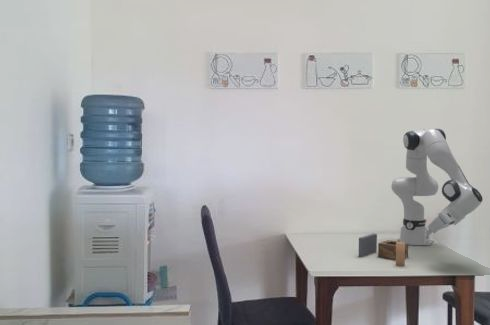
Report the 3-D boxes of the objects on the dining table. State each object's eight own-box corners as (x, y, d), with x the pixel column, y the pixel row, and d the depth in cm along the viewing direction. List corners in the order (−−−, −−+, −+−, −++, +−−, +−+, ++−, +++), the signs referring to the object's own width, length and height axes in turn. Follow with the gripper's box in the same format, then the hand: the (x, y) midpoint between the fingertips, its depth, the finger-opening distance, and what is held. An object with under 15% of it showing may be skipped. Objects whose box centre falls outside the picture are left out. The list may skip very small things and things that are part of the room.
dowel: (397, 263, 210) (398, 241, 210) (405, 265, 207) (406, 242, 207) (394, 265, 207) (394, 242, 207) (402, 267, 205) (402, 244, 204)
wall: (373, 251, 234) (373, 233, 234) (376, 252, 233) (376, 233, 232) (358, 257, 222) (358, 237, 222) (362, 257, 221) (362, 238, 221)
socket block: (387, 253, 230) (387, 239, 230) (408, 256, 223) (408, 243, 222) (378, 256, 222) (378, 243, 222) (398, 260, 215) (399, 246, 214)
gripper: (454, 208, 214) (433, 225, 221) (439, 212, 199) (417, 230, 206) (463, 218, 211) (442, 235, 218) (448, 223, 196) (426, 241, 203)
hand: (430, 233), depth 212 cm, fingers open, 7 cm apart
